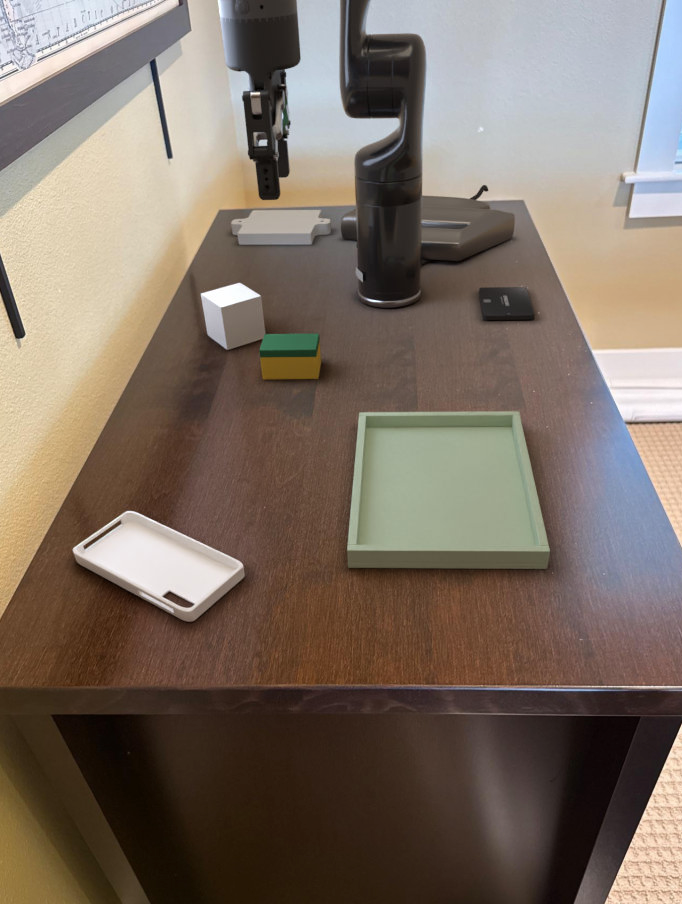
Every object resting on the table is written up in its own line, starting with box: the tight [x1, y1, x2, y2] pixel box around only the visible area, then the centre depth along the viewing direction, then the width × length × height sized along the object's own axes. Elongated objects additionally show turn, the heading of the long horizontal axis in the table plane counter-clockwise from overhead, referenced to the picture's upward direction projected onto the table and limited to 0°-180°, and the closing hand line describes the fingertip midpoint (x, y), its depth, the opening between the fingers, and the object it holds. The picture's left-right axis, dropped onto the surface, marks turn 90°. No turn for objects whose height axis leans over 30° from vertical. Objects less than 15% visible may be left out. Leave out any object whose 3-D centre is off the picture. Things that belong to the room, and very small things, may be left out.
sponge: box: [258, 332, 322, 380], centre depth 97 cm, size 5×7×4 cm, turn 87°
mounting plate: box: [230, 209, 332, 246], centre depth 140 cm, size 18×13×2 cm
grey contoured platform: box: [340, 194, 516, 262], centre depth 133 cm, size 28×5×28 cm
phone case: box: [72, 510, 246, 623], centre depth 70 cm, size 7×1×15 cm
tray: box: [346, 410, 551, 570], centre depth 77 cm, size 24×18×2 cm
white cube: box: [200, 282, 266, 351], centre depth 105 cm, size 6×6×6 cm
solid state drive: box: [478, 286, 536, 321], centre depth 111 cm, size 7×10×1 cm
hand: (275, 187), depth 85 cm, fingers open, 8 cm apart
